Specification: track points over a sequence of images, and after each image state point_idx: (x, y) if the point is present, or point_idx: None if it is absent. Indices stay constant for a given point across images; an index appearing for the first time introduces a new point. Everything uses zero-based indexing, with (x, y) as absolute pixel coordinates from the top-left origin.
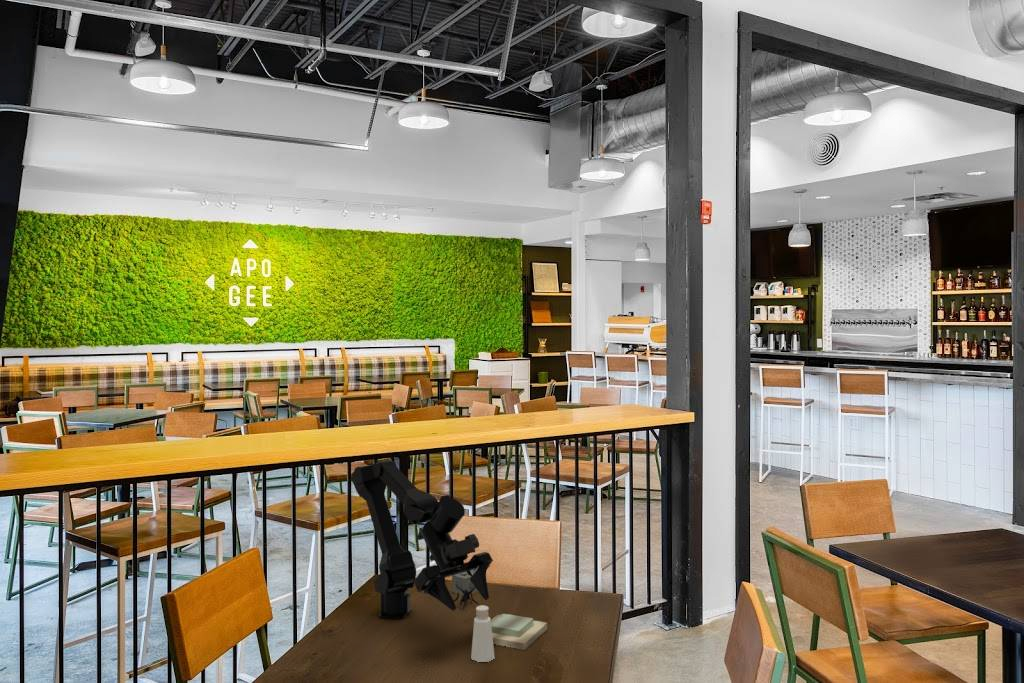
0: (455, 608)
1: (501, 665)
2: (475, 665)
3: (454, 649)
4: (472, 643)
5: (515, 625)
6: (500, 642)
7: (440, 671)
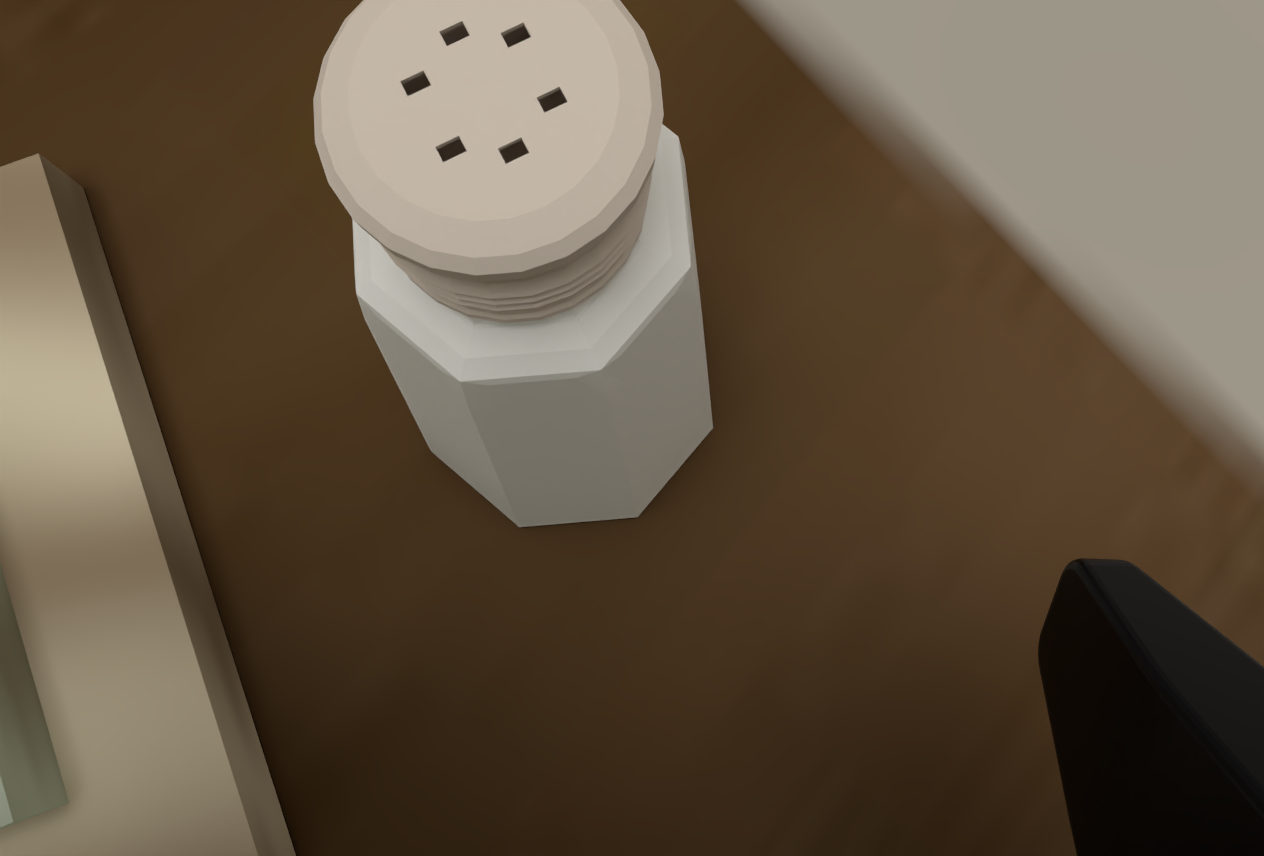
0: (1094, 561)
1: None
2: (763, 295)
3: (658, 835)
4: (674, 426)
5: None
6: (159, 481)
7: (1159, 460)
